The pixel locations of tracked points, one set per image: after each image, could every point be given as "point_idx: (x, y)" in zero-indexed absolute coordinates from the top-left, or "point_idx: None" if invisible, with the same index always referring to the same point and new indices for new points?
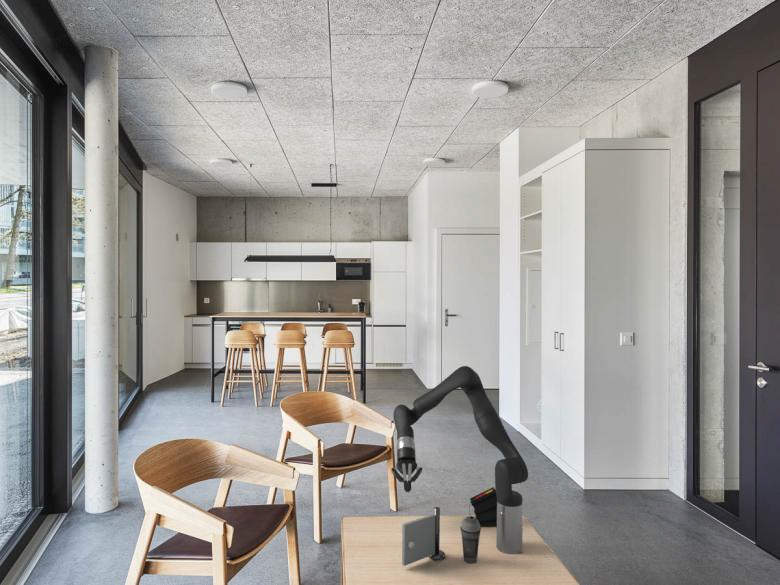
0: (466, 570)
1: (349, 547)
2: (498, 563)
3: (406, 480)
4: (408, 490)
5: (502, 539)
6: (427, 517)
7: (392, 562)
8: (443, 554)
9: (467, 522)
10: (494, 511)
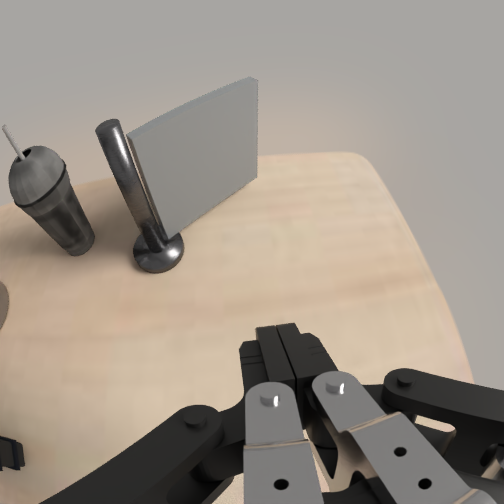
0: (103, 202)
1: (425, 266)
2: (32, 239)
3: (312, 392)
4: (267, 328)
5: None
6: (162, 116)
7: (287, 207)
8: (138, 244)
9: (43, 146)
10: None
